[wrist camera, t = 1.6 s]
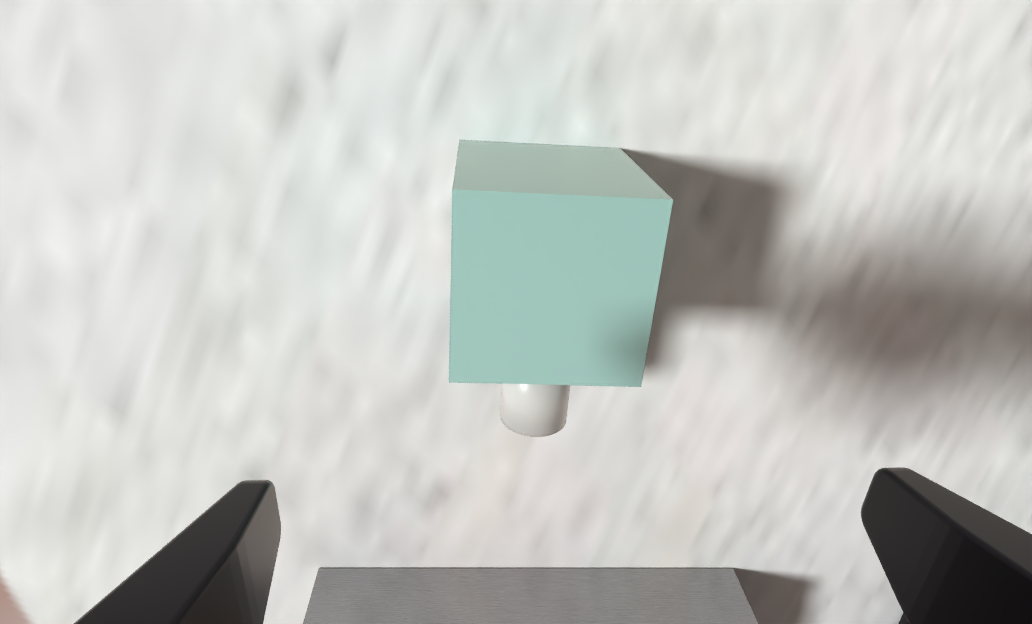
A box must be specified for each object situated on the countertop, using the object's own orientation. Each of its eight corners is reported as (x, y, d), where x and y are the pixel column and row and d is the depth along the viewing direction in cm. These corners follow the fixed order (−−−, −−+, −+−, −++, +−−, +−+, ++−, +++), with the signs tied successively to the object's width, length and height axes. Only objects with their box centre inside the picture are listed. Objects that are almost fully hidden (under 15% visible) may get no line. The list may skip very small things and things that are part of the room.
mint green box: (619, 147, 20) (673, 199, 14) (592, 354, 23) (628, 460, 17) (459, 139, 19) (452, 189, 14) (454, 350, 22) (447, 457, 17)
